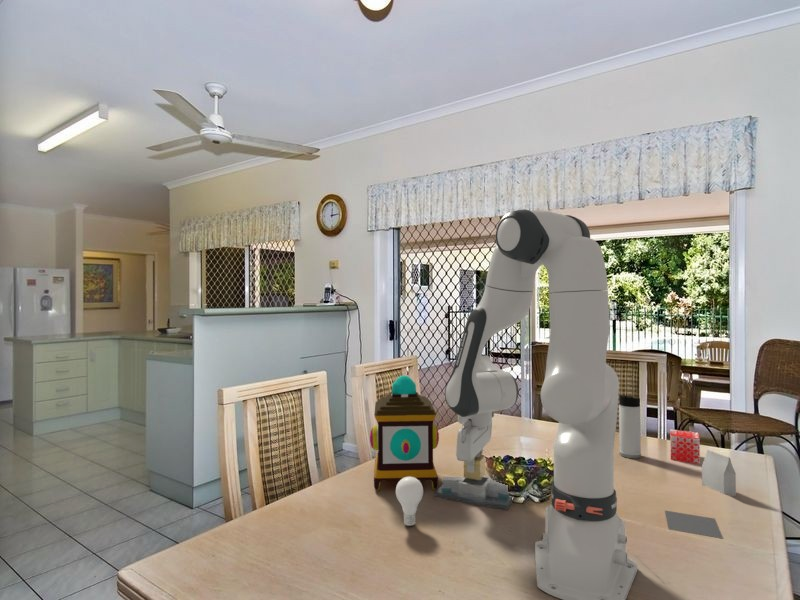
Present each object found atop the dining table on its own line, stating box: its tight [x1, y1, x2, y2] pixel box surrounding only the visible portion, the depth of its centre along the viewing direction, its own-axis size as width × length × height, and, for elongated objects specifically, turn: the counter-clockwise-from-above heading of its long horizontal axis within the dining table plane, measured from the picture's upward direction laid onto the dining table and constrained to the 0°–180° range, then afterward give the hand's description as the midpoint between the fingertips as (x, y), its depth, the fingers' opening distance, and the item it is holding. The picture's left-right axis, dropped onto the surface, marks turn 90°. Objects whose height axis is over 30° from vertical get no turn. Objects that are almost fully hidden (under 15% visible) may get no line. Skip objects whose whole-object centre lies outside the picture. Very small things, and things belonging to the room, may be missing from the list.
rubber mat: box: [664, 510, 724, 540], centre depth 104 cm, size 10×10×1 cm
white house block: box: [701, 449, 737, 497], centre depth 124 cm, size 4×7×10 cm, turn 11°
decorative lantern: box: [369, 374, 440, 491], centre depth 134 cm, size 20×20×30 cm
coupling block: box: [463, 453, 486, 480], centre depth 122 cm, size 4×4×6 cm
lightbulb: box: [395, 476, 424, 527], centre depth 106 cm, size 6×6×11 cm
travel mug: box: [618, 394, 642, 460], centre depth 153 cm, size 6×7×20 cm
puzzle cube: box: [669, 429, 701, 465], centre depth 150 cm, size 8×8×8 cm
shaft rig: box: [434, 475, 514, 511], centre depth 122 cm, size 10×19×4 cm, turn 64°
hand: (474, 467), depth 122 cm, fingers closed on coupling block, 4 cm apart
